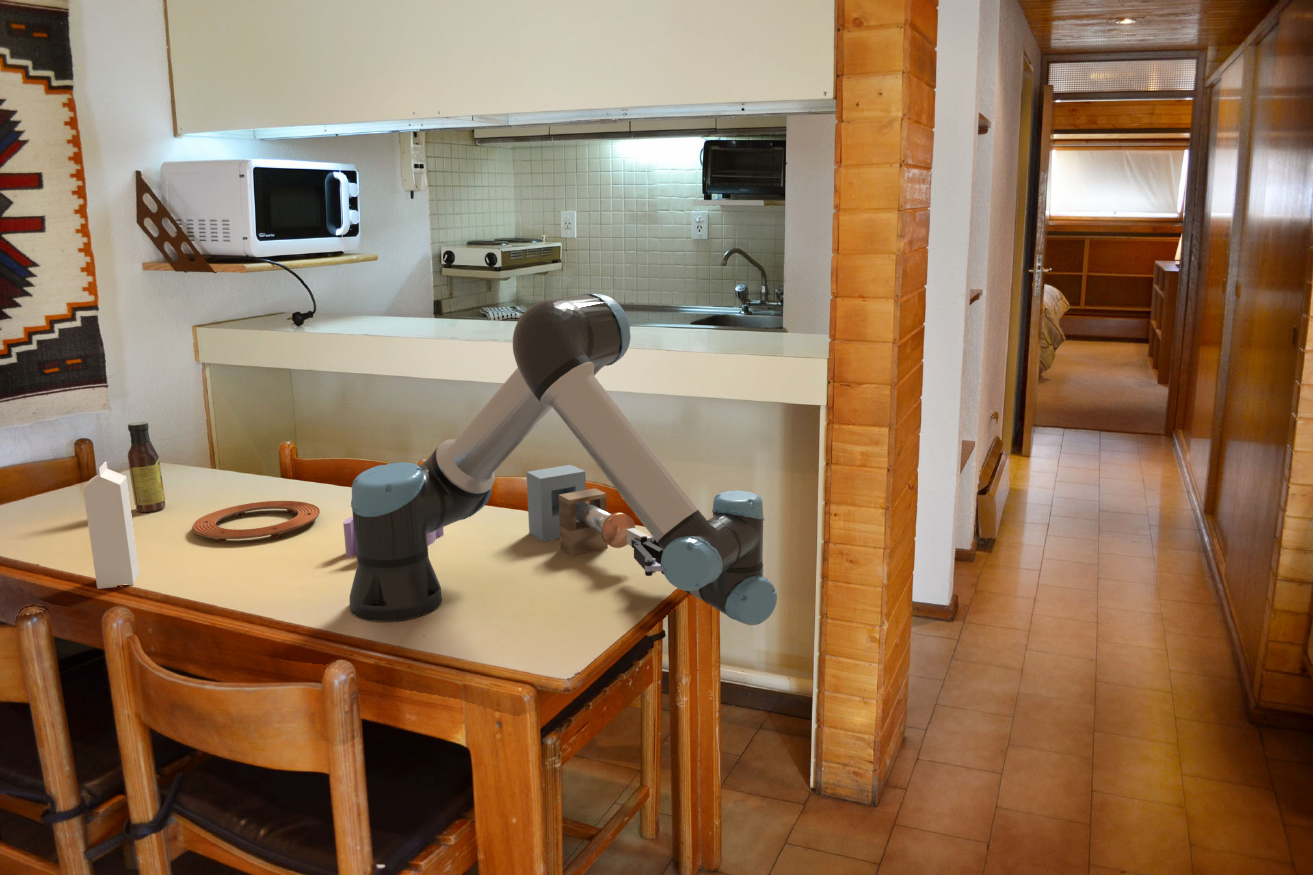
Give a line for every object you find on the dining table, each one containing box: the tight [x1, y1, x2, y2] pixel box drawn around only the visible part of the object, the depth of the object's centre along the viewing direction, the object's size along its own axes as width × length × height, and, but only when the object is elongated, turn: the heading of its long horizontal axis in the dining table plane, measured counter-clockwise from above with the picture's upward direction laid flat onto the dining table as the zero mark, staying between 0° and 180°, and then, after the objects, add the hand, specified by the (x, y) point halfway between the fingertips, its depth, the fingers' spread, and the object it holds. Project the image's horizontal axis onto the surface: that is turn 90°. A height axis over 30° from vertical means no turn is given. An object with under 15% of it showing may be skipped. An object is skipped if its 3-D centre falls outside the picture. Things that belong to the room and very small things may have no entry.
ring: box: [191, 500, 321, 544], centre depth 220 cm, size 25×25×2 cm
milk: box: [82, 460, 140, 590], centre depth 187 cm, size 6×6×22 cm
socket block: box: [526, 464, 587, 542], centre depth 211 cm, size 10×6×13 cm, turn 121°
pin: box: [575, 501, 636, 549], centre depth 196 cm, size 6×18×6 cm, turn 31°
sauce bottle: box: [127, 421, 166, 513], centre depth 232 cm, size 7×6×20 cm
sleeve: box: [559, 488, 609, 556], centre depth 202 cm, size 8×4×11 cm, turn 121°
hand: (630, 535), depth 187 cm, fingers closed
